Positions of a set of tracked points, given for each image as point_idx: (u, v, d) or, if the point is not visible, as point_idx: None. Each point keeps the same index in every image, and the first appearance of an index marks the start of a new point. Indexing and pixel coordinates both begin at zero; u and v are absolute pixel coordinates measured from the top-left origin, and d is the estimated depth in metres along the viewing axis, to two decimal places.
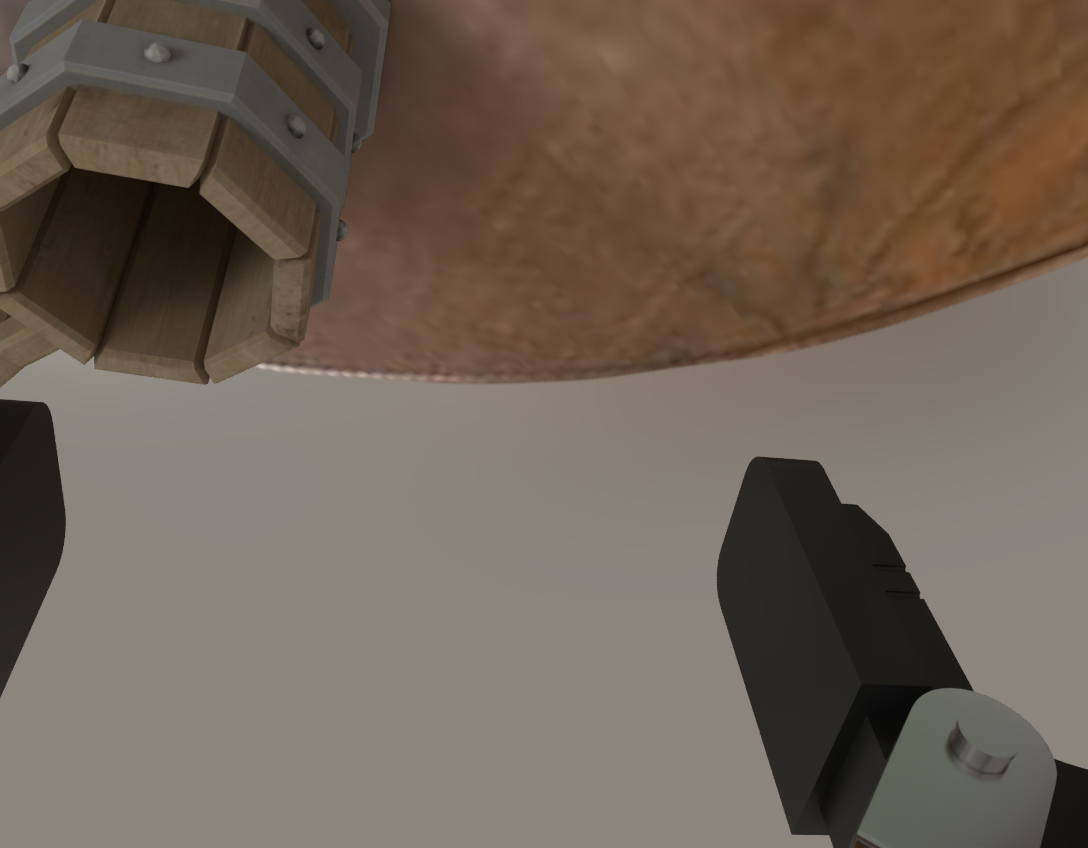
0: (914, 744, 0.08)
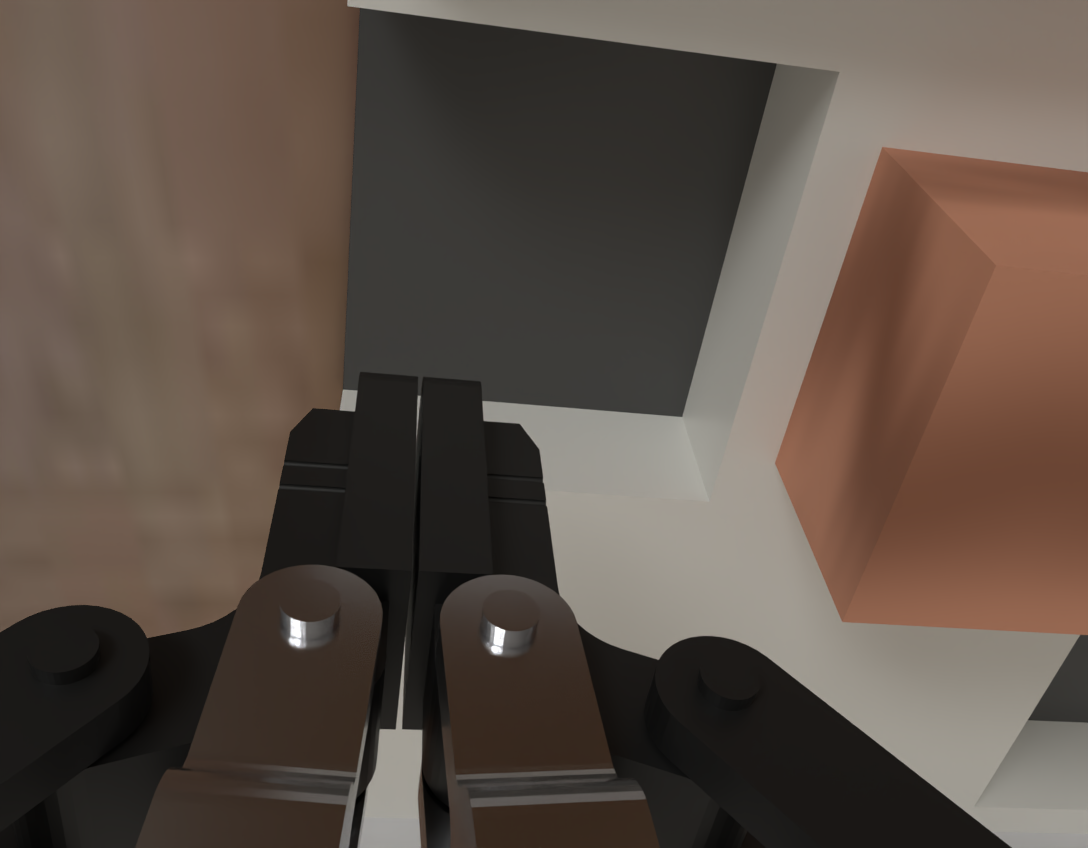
0: (459, 657, 0.09)
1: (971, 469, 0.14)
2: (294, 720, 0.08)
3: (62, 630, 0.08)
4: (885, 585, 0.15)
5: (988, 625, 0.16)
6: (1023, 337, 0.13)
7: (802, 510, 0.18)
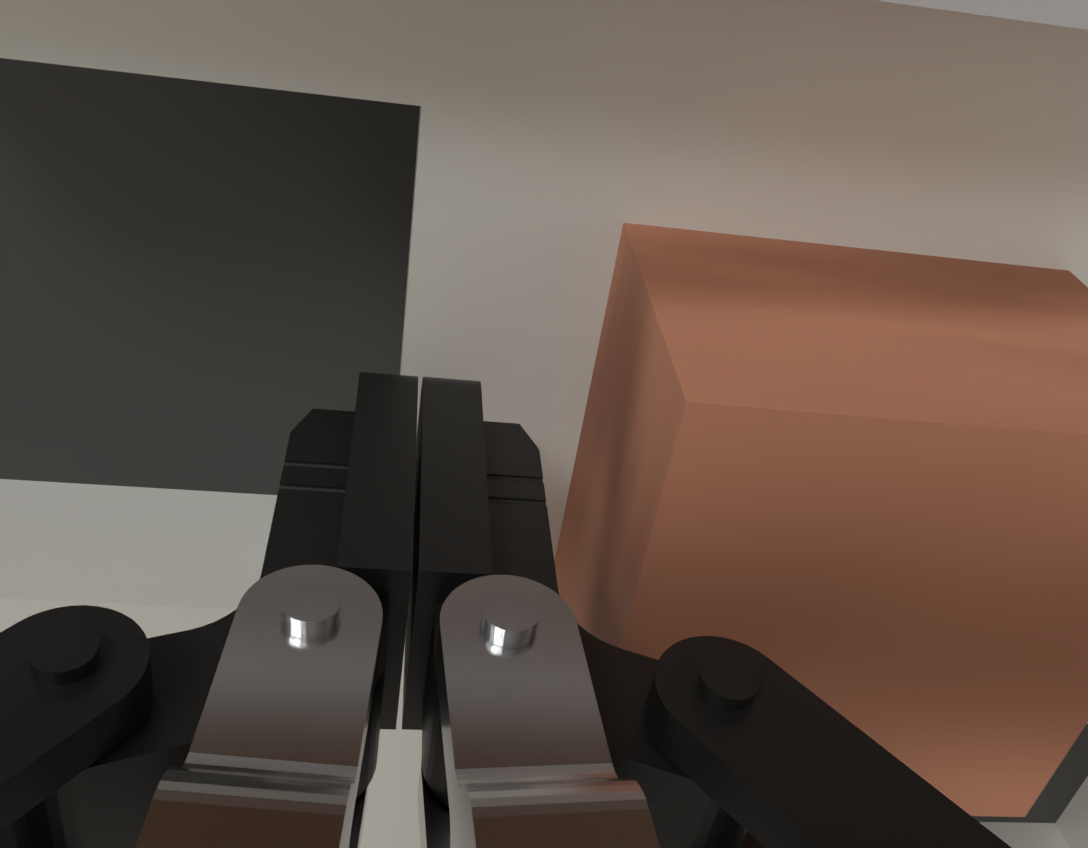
0: (458, 657, 0.09)
1: None
2: (294, 721, 0.08)
3: (63, 630, 0.08)
4: None
5: None
6: (741, 486, 0.10)
7: None
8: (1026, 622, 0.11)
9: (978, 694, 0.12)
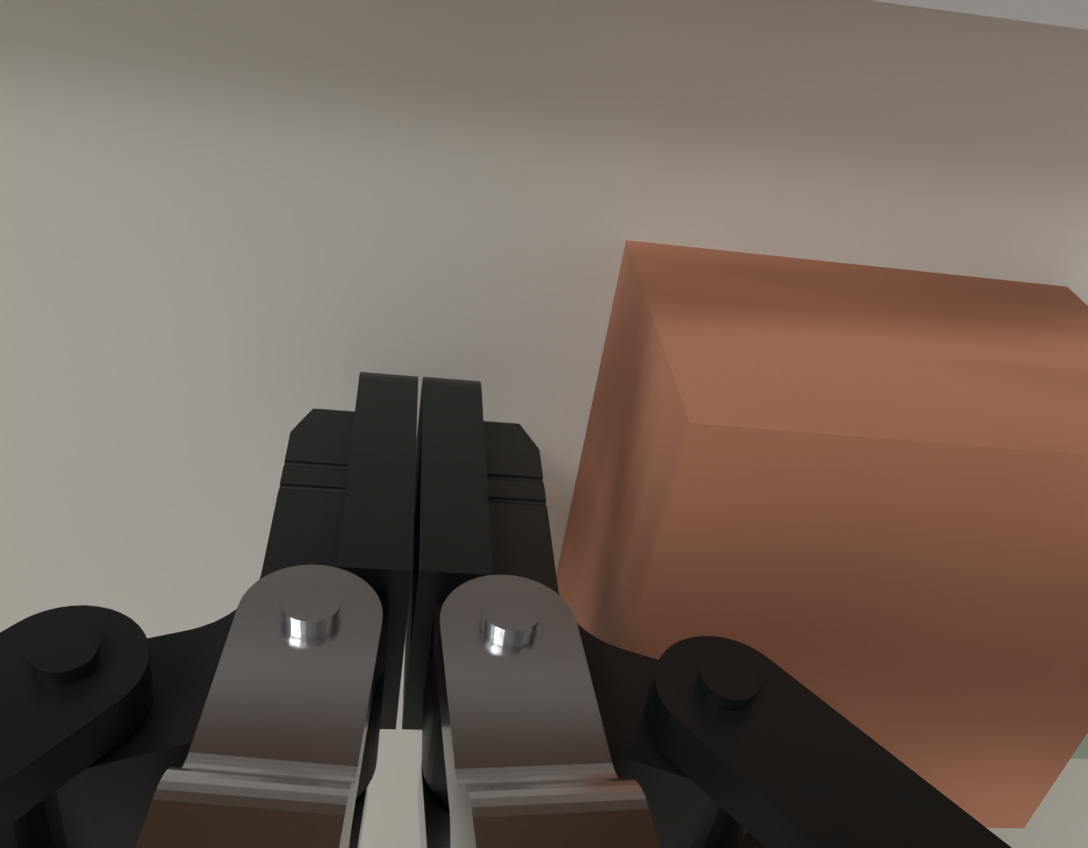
0: (459, 657, 0.09)
1: None
2: (293, 720, 0.08)
3: (63, 630, 0.08)
4: None
5: None
6: (743, 506, 0.10)
7: None
8: (1025, 636, 0.12)
9: (978, 708, 0.12)
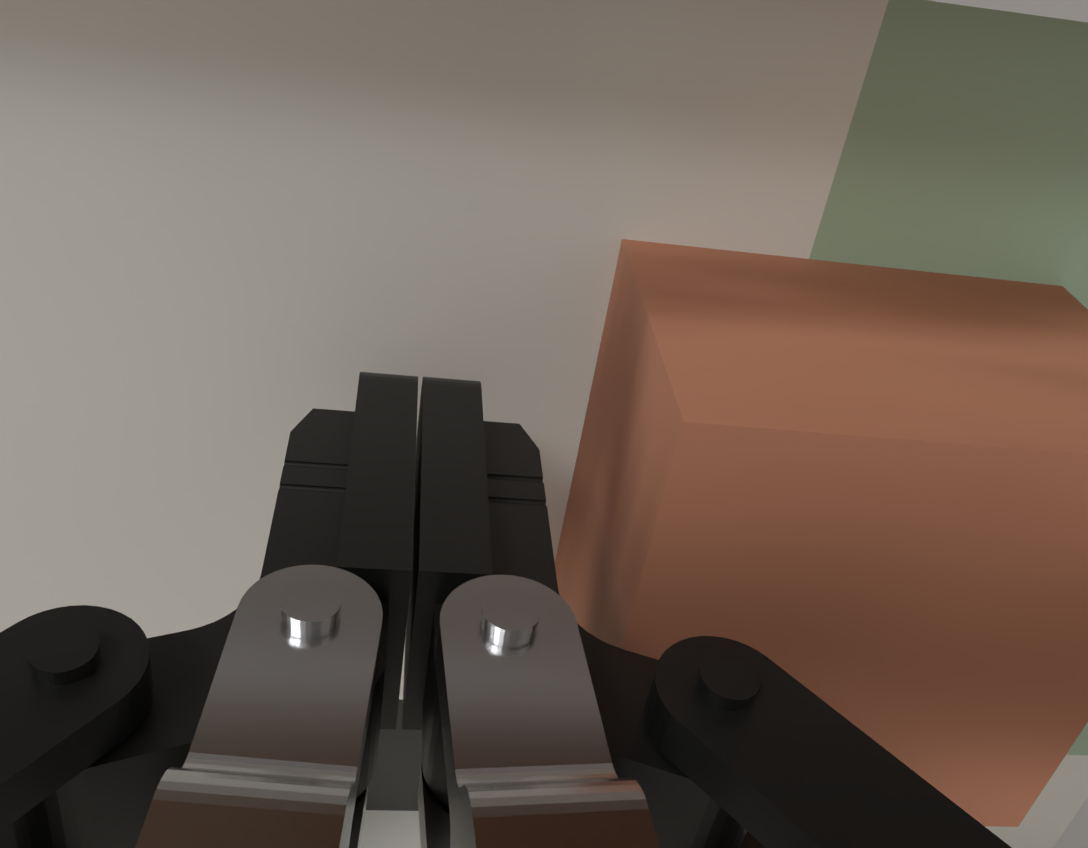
0: (458, 657, 0.09)
1: None
2: (294, 720, 0.08)
3: (63, 630, 0.08)
4: None
5: None
6: (738, 505, 0.10)
7: None
8: (1018, 636, 0.12)
9: (971, 706, 0.12)
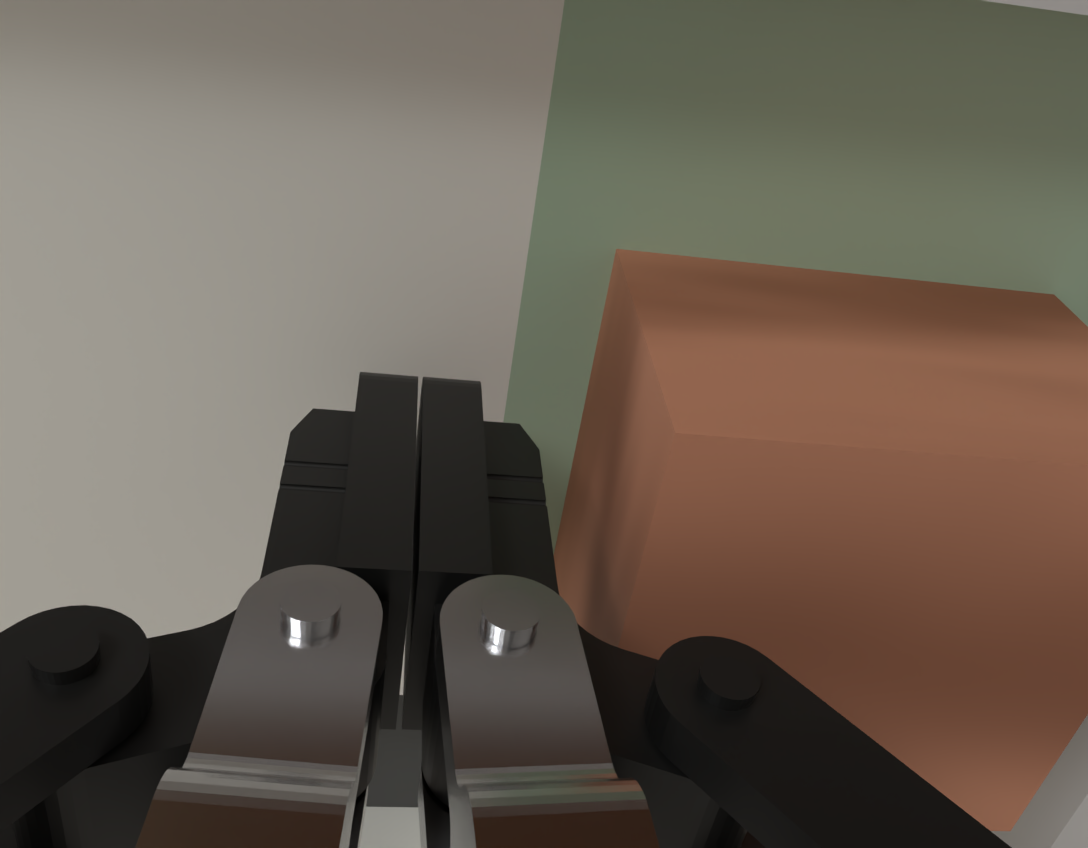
0: (459, 657, 0.09)
1: None
2: (294, 720, 0.08)
3: (62, 630, 0.08)
4: None
5: None
6: (730, 514, 0.10)
7: None
8: (1009, 643, 0.12)
9: (963, 713, 0.12)
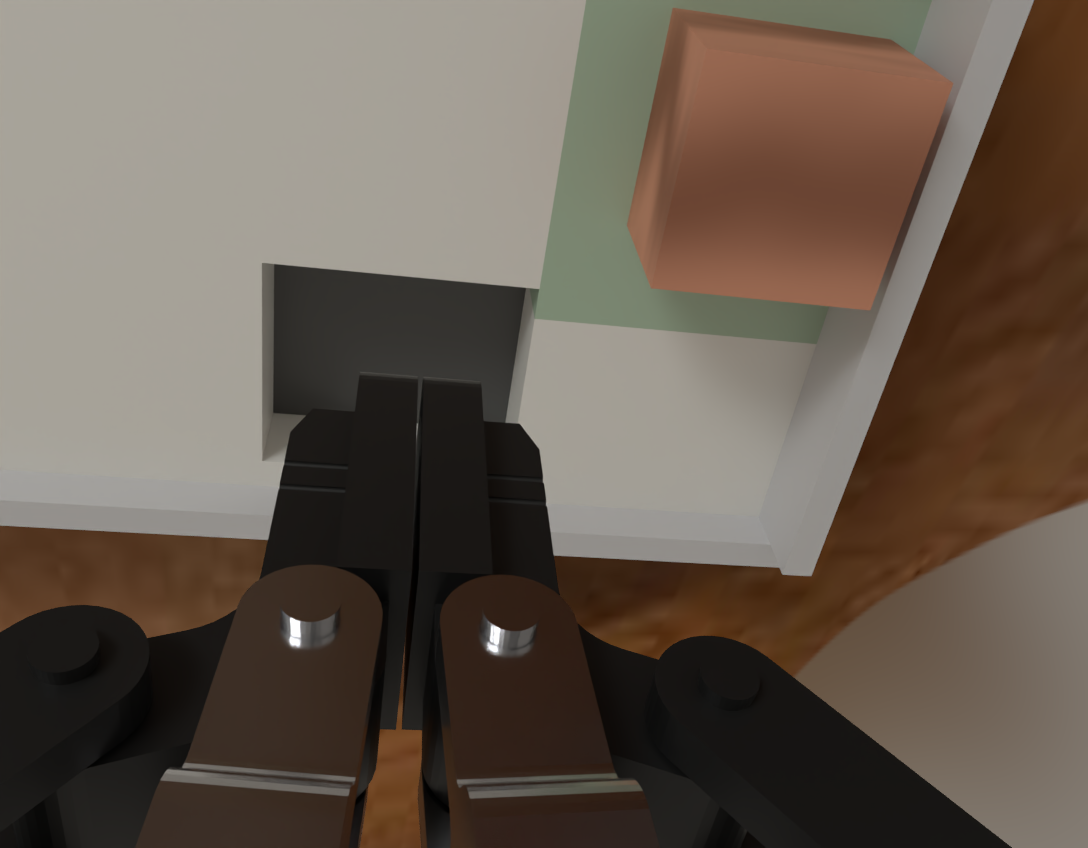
0: (459, 657, 0.09)
1: (713, 179, 0.25)
2: (294, 720, 0.08)
3: (63, 630, 0.08)
4: (673, 262, 0.26)
5: (739, 294, 0.27)
6: (729, 94, 0.24)
7: (637, 241, 0.28)
8: (858, 178, 0.25)
9: (840, 223, 0.26)
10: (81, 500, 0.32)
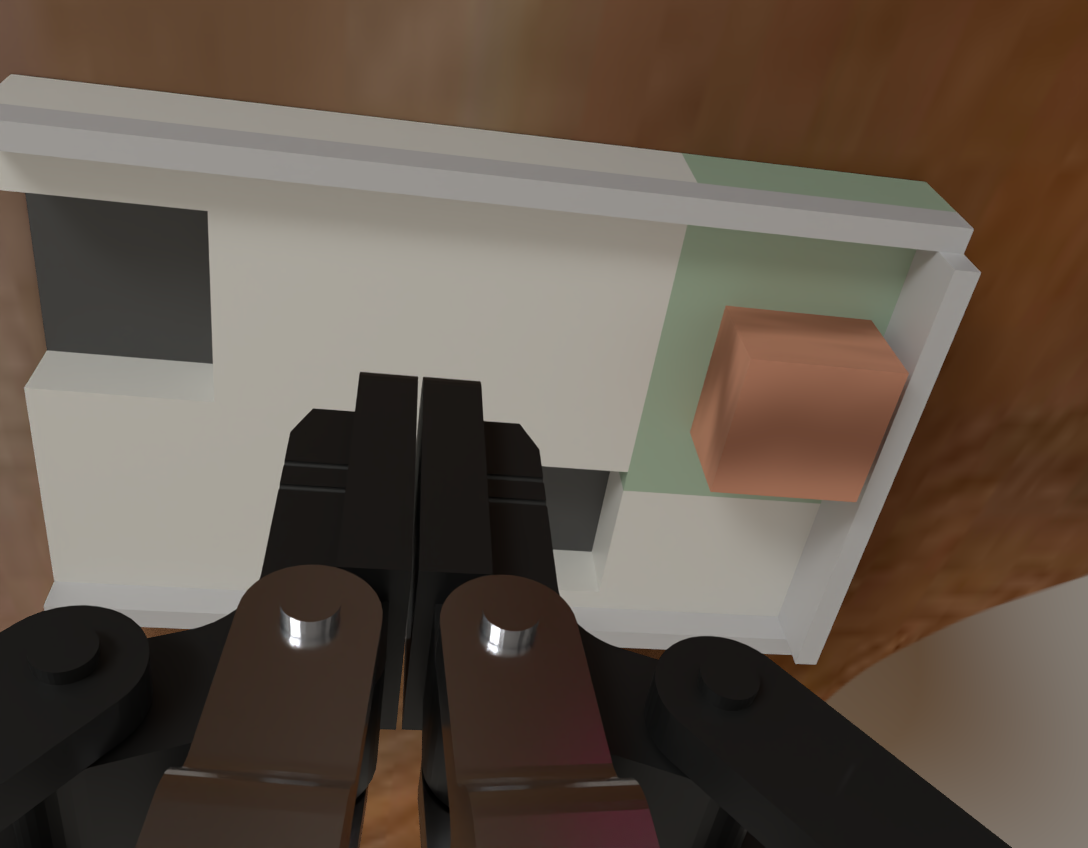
0: (458, 657, 0.09)
1: (753, 429, 0.38)
2: (294, 721, 0.08)
3: (62, 630, 0.08)
4: (726, 476, 0.40)
5: (769, 494, 0.40)
6: (764, 382, 0.37)
7: (699, 451, 0.42)
8: (847, 426, 0.39)
9: (836, 452, 0.39)
10: None
